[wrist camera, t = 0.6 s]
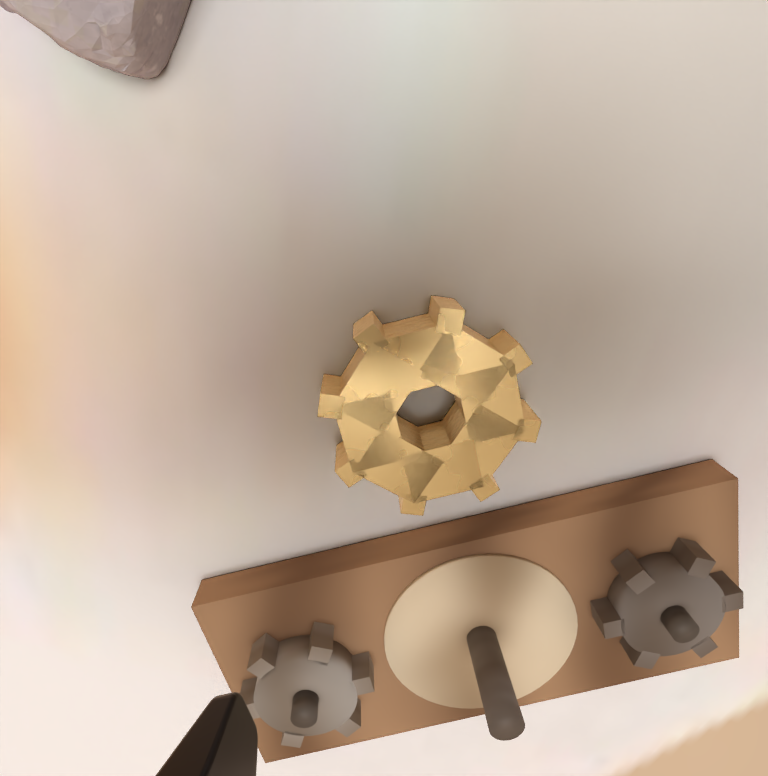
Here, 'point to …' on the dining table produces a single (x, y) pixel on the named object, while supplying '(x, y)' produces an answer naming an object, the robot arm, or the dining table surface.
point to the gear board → (482, 612)
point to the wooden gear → (436, 440)
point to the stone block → (110, 30)
